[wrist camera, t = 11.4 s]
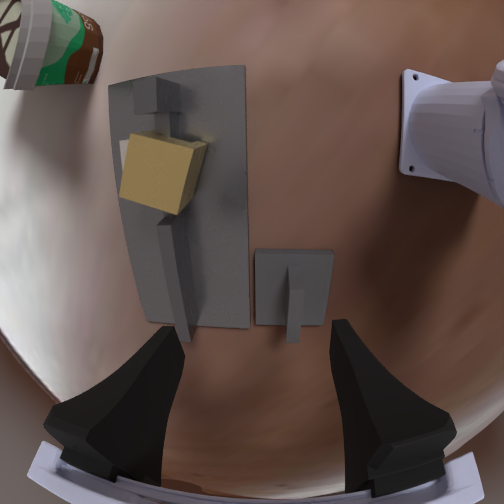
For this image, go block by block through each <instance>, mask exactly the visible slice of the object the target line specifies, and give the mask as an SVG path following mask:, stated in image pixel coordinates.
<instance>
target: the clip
mask: <svg viewBox="0 0 504 504" xmlns="http://www.w3.org/2000/svg"><path fill="white" fill-rule="evenodd" d="M207 145H208V143H204V142H201V141H196V142H193V143H191V142H187V141H183V140H180V139H176V138H172V137H168V136H164V135H160V134H156V133H155V130H148V131H142V132H136V133H130V137H129V142H128V147H127V152H126V157H125V162H124V168H123V174H122V180H121V186H120V193H119V197H121V198H124V199H128V200H131V201H134V202H137V203H140V204H143V205H147V206H150V207H153V208H156V209H159V210H162V211H166V212H169V213H172V214H175V215H178V214H179V213H180V211H181V210H182V209H183V208H184V207H185V206H186V205H187V204H188V203H189V202H190V201H191V199H192V198H193V195H194V191H195V187H196V184H197V180H198V176H199V173H200V169H201V166H202V162H203V159H204V155H205V152H206V148H207Z"/></svg>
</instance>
